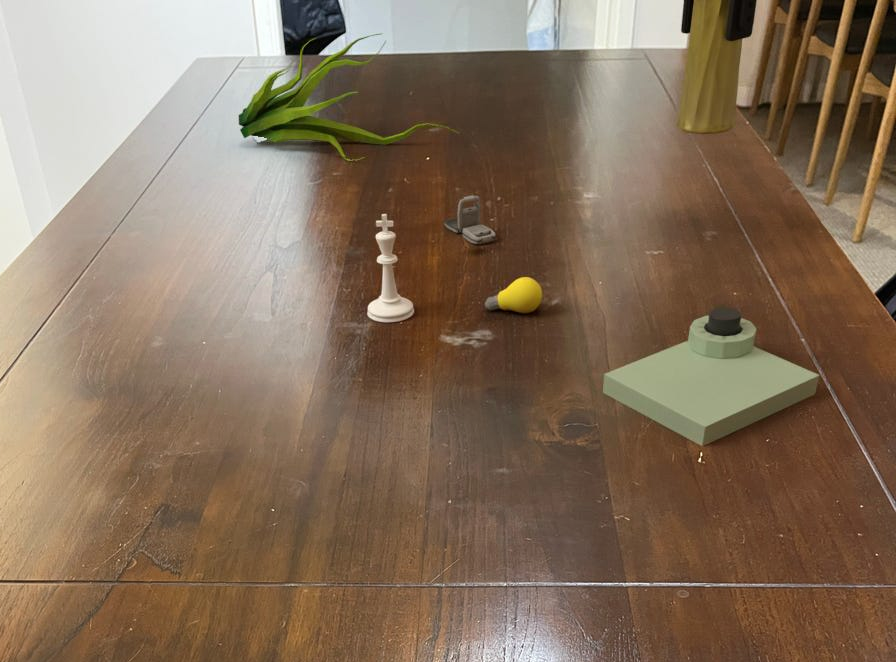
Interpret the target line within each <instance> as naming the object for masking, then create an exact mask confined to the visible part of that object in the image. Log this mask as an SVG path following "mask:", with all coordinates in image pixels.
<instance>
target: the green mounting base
mask: <svg viewBox="0 0 896 662" xmlns="http://www.w3.org/2000/svg"><path fill="white" fill-rule="evenodd" d="M708 319H709V315H704V316H701V317H699V318H695V319H694V320H693V321H692V323H691V325H690V326H689V329H688V330H689V331H688V338H687V340H685V341H682V342H681V343H678V344H676V345H673V346H670V347H668V348H666V349H663V350H661V351H657V352H656V353H653V354H651V355H648V356H646V357H643V358H641V359H638V360H636V361H633V362H631V363H628V364H626V365H623V366H621V367H618V368H616V369H613V370H611V371H608V372H605V373H604V374H603V385H602V393H603V394H605V395H606V396H608V397H610V398H611V399H614V400H616V401H618V402H619V403H621V404H623V405H625V406H626V407H628V408H630V409H633V410H634V411H636V412H637V413H640V414H641V415H643V416H645V417H646V418H648V419H651V420H653V421H654V422H656V423H658V424H660V425H662V426H663V427H665V428H667V429H669V430H671V431H673V432H675V433H676V434H679V435H680V436H682V437H683V438H685V439H687V440H690V441H692V442H693V443H695V444H697V445H699V446H701V447H704V446H706V445H709V444H710V443H713V442H715V441H717V440H719V439H722V438H724V437H726V436H728V435H730V434H732V433H734V432H737V431H738V430H740V429H743V428H745V427H747V426H750V425H752V424H754V423H757V422H759V421H760V420H762V419H765V418H767V417H769V416H771V415H774V414H775V413H778V412H780V411H782V410H784V409H786V408H788V407H791V406H793V405H795V404H797V403H799V402H801V401H804V400H806V399H808V398H811V397H812V396H815V395H816V392H817V387H818V384H819V379H820V374H818V373H815V372H814V371H811V370H809V369H808V368H807V369H806V368H804V367H803V366H800V365H797V364H795V363H793V362H791V361H789V360H786V359H784V358H782V357H780V356H777V355H774V354H772V353H771V352H768V351H765V350H763V349H761V348H759V347H756V346H755V341H756V336H757V331H758V330H757V327H756V326H755V324H753V322H752V321H750V320H747V319H745V318H742V317H741V322H740V327H739V333H738V334H737V335H734V336H718V335H713V334H711V333H708V332H707V326H708Z"/></svg>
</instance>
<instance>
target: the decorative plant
mask: <svg viewBox="0 0 896 662" xmlns="http://www.w3.org/2000/svg"><path fill="white" fill-rule="evenodd" d="M380 35H383V33H376V34H371V35H370V34H369V35H367V36H363V37H360V38H357V39H355V40H353V41H352V42H351V43H349V44H348V45H347V46H346V47H344V48H343V49H342V50H339V51H338V52H335V53H334V54H332V55H329V56H327V57H326V58H325V59H324V60H323V61H321V63H319V64H318V65H317V66H316V67H315V68H314V69H312V70H311V71H310V72H309V73H308V75H307V76H306V77H305V78H304V79H303V81H302V82H300V81H301V80H302V77H303V66H304V65H303V63H304V62H303V53H304V50H305V47H306V46H307V45H308V44H309V43H310V42H311V41H314V40H315V39H317V37H314V38H312V39H310V40H308V41H307V43H305V44H304V45H303V46H302V47H301V49H300V52H299V53H300V54H299V64H298V69H297V73H296V75H295V76H294V77H293V78H291V79H290V80H289V81H287V82H286V83H285V84H282V85H280V86H278V87H275V88H273V86H274V84H275V82H276V81H277V79H278V78H279V77H281V76H283V75H285V74H287V73H288V72H289V71H290V70H291V68H290V67H291V66H292V64H293V62H294V60H292V61H291V63H290V64H288V66H287V67H286V68H283V69H281V70H278V71H275V72H274V73H271V74H270V75H269V76H268V77H267V78H266V79H265V80H264V82H263V83H262V85H261V87H260V89H258V91H257V92H256V93H254V94H253V96H252V98H251V100H250V102H249V103H248V106H246V107H244V108H243V109H242V112H241V113H240V114H238V125H239V126H240V127H241V128H240V129H239V131H240V133H241V135H242V137H243V139H246V138H248V137H250V136H251V137H253V136H258V137H264V138H267V139H269V140H268V141H271V142H273V143H277V142H279V143H283V142H287V141H288V142H289V141H317V142H328V143H330V144H331V145H332V146H333V147H335V148H336V149H337V151H338V153H339V154H340V156H341V157H342V156H343V157H347V156H346V155H345V153H344V151H343V148H342V146H341V145H340V143H339V142H338V140H337V139H336V138H338V139H342V140H347V141H350V142H355V140H357V141H366V142H361V143H364V144H373V145H384V146H386V145H389V144H392V143H395V142H398V141H401V140H404V139H406V138H407V137H408V136H410V135H412V134H413V133H414V132H415V131H417V130H418V129H419V128H424V127H427V126H428V127H437V128H446V129H447V130H450V131H452V132H454V133H456V134H460V132H458V131H457V130H454V129H452V128H450V127H448V126H445V125H441V124H435V123H428V122H426V123H420V124H419V123H418V124H416V125H413V126H412V127H411V128H409V129H407V130H405V131H404V132H401V133H397V134H393V135H390V136H386V137H383V136H380V135H378V134H375V133H373V132H370V131H367V130H365V129H362V128H361V127H360V128H359V127H358V126H353V125H350V124H345V123H342V122H338V121H333V120H331V119H328V118H327V119H326V118H321V117H318V116H313V115H314V113H317V112H318V111H320V110H322V109H325V108H327V107H328V106H330V105H332V104H334V103H336V102H338V101H340V100H342V99H343V98H345V97H347V96H349V95H355V94H358V93H359V91H349V92H346V93H344V94H342V95H339V96H337V97H334V98H331V99H328V100H326V101H322V102H319V103H316V104H313V105H307V106H305V104H306V103H307V102H308V100H309V98H310V96H311V95H312V94H313V92H314V90H315V89H316V88H317V87H318V85H319V84H320V83H321V81H322V80H323V79H324V78H325V77H326V76H327V74H328V73H329V72H330V71H331V70H332V69H333V68H337V67H341V66H345V65H349V66H359V67H360V66H363V65H366V64H369V63H370V62H371V61H372V60H373V59H374V58H375V57H377V55H378V54H379V53H380V52H381V51H382V49H383V47H384V46H385V44H386V43H387V40H385V41H384V43H383V45H382V46H381V47H380V49H379V51H378V52H376V53H375V54H374V55H373V56H371V58H369V59H368V60H366V61H365V60H364V61H361V62H359V61H356V60H351V59H346V58H345V59H341V60H339V59H340V58H342V57H343V56H345V55H346V54H347V53H348V52H349V50H351V49H352V47H353V46H354V45H355V44H356V43H358V42H359V41H362V40H365V39H367V38H369V37H373V36H380ZM285 71H286V72H285ZM283 72H284V73H283ZM299 82H300V84H299V85H298V86H297V87H296V88H295V89H294V87H295V86H296V85H297V84H298V83H299ZM367 141H369V142H367ZM370 141H371V142H370ZM374 142H380V143H374ZM343 157H342V158H343ZM365 158H366V157H365V156H363V157H360V158H358V159H352V160H350V159H351V158H348V157H347V159H346V158H343V159H344V160H346V161H347V162H357V161H360V160H363V159H365ZM353 160H355V161H353Z"/></svg>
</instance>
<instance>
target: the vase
mask: <svg viewBox="0 0 896 662" xmlns="http://www.w3.org/2000/svg"><path fill="white" fill-rule="evenodd" d="M729 3H730V0H694V5H693V13H692V21H691V29H690V33H689V37H688V46H687V51H686V52H687V53H686V60H685V67H684V76H683V82H682V83H683V84H682V93H681V100H680V105H679V111H678V112H679V114H678V118H677V123H676V127H677V128H678V130H680V131H682V132H683V133H687V134H695V135H714V134H722V133H726V132H729V131H730V130H732V129H734V127H735V126H736V111H737V101H738V90H739V78H740V77H739V76H740V64H741V58H742V57H741V56H742V49H743V48H742V47H743V39H739V40H735V41H727V39H726V29H727V20H728V12H729Z"/></svg>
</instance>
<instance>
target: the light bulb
mask: <svg viewBox="0 0 896 662" xmlns="http://www.w3.org/2000/svg"><path fill="white" fill-rule="evenodd" d="M542 299H543V291H542V286H541V285H540V283H538V281H537V280H535V279H534V278H533V277H529V276H521V277H519V278H517V279H514V281H512V282H511V283H510V284H508V286H507V287H506V288H505V289H502V290H500V291H499V292H498V294H496V295H492V296H490V297H489V296H488V297H487V299H486V300H485V302H484V306H485V308H486V309H487V310H489V311H491V312H492V311H496V310H500V309H501V310H502V311H512V312H515V313H519V314H530V313H532V312H534V311H536V309H538V308H539V306H540V305H541V302H542Z"/></svg>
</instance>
